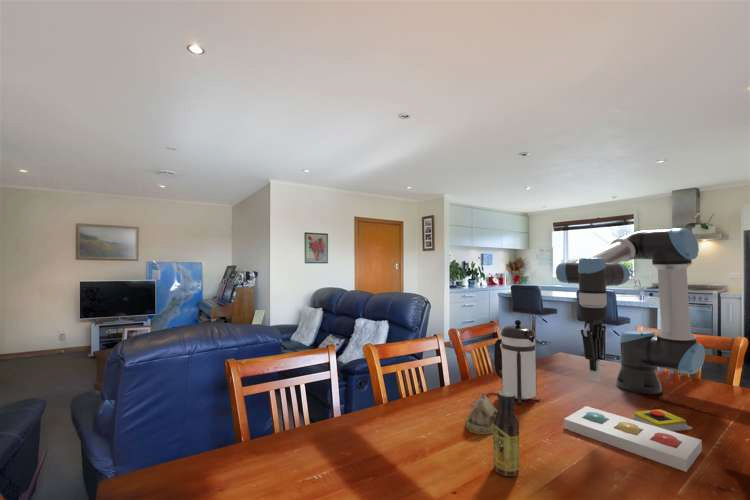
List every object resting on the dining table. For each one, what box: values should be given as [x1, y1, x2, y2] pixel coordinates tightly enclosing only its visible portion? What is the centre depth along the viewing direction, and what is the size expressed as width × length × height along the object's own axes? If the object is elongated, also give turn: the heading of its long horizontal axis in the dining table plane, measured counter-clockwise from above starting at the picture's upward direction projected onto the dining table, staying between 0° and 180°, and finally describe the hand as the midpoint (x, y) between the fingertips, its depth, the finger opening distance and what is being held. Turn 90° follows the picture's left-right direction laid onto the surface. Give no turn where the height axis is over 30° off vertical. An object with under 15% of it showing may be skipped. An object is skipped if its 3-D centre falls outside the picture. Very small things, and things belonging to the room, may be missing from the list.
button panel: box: [563, 405, 703, 473], centre depth 108 cm, size 16×30×3 cm, turn 38°
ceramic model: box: [465, 393, 498, 435], centre depth 118 cm, size 14×11×10 cm
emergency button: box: [632, 408, 693, 432], centre depth 117 cm, size 9×4×15 cm
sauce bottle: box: [492, 390, 520, 478], centre depth 93 cm, size 7×6×20 cm
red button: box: [655, 433, 678, 448], centre depth 101 cm, size 5×5×4 cm
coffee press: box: [493, 319, 541, 406], centre depth 142 cm, size 17×16×30 cm
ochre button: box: [618, 422, 639, 436], centre depth 108 cm, size 5×5×4 cm
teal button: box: [586, 412, 605, 424], centre depth 115 cm, size 5×5×4 cm
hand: (595, 380), depth 116 cm, fingers closed
